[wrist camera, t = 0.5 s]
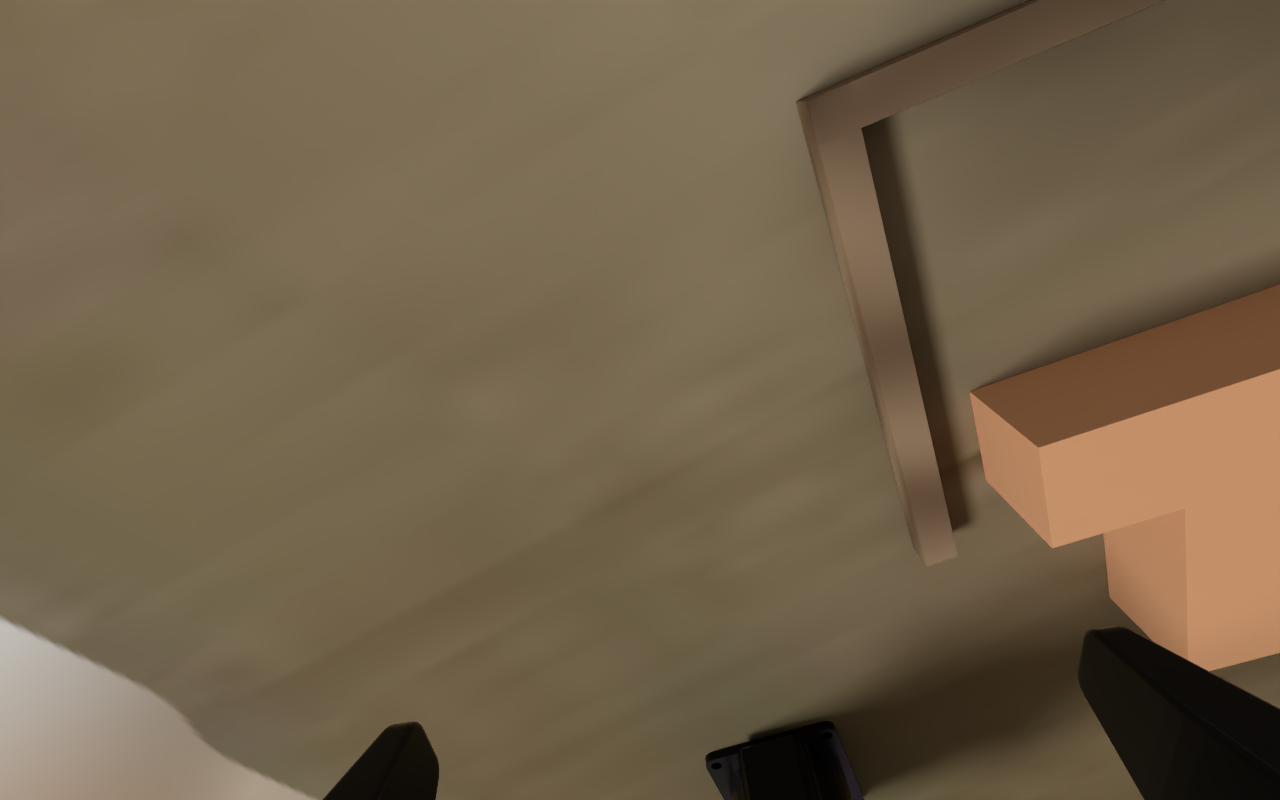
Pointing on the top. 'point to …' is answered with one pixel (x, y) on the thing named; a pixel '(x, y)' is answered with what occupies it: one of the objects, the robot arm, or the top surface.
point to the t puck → (1159, 472)
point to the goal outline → (832, 128)
